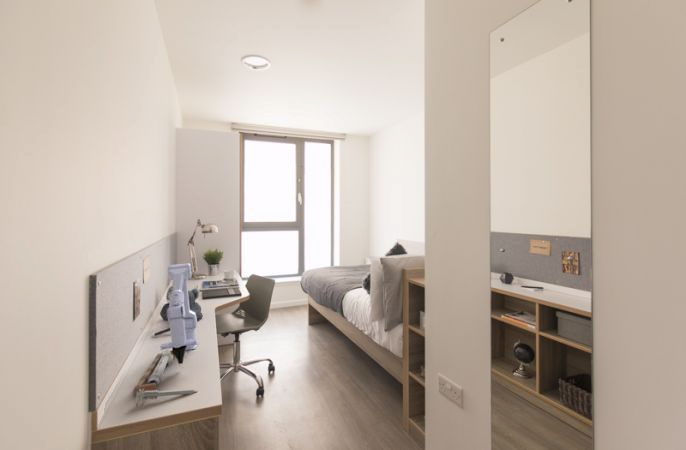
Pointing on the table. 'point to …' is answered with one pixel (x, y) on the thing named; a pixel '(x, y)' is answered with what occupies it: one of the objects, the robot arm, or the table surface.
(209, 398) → the table surface
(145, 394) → the caliper
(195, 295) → the koala plush
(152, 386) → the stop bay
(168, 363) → the white tube
